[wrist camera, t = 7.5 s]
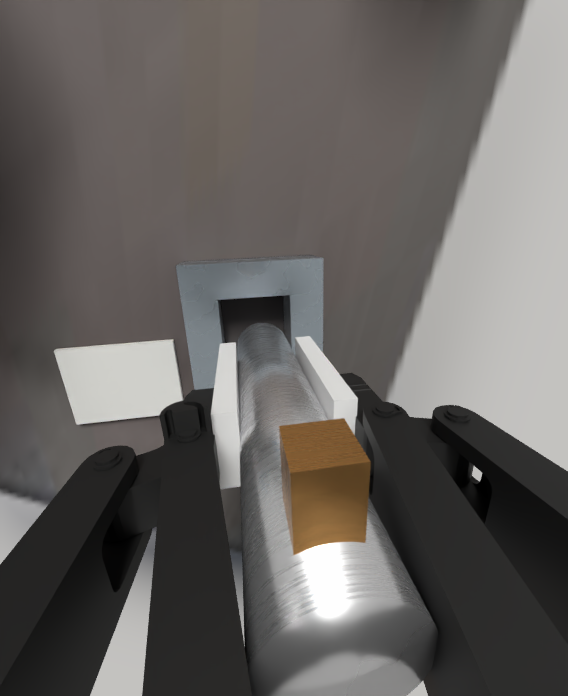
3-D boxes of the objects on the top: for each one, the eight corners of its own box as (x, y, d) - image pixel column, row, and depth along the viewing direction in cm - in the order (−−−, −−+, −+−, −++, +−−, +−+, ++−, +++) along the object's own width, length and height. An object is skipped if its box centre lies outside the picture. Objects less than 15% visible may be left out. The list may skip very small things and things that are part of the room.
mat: (78, 421, 24) (76, 424, 24) (56, 348, 22) (53, 350, 22) (185, 409, 25) (184, 412, 25) (173, 339, 23) (172, 340, 23)
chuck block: (200, 379, 25) (196, 399, 22) (183, 261, 22) (175, 265, 19) (312, 368, 26) (322, 386, 23) (311, 255, 23) (323, 257, 20)
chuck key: (241, 394, 20) (260, 791, 6) (231, 298, 18) (223, 540, 4) (288, 389, 20) (419, 749, 6) (285, 295, 18) (469, 500, 4)
